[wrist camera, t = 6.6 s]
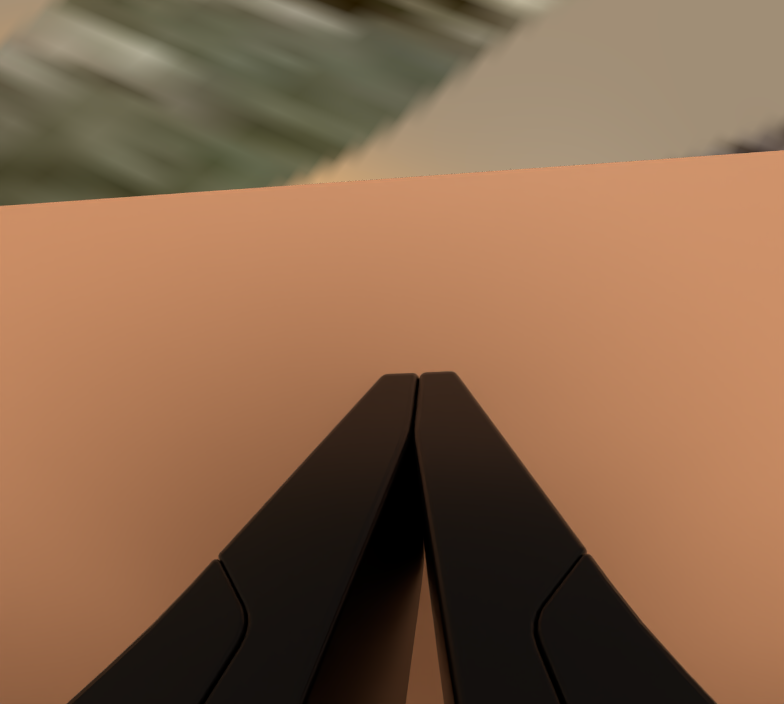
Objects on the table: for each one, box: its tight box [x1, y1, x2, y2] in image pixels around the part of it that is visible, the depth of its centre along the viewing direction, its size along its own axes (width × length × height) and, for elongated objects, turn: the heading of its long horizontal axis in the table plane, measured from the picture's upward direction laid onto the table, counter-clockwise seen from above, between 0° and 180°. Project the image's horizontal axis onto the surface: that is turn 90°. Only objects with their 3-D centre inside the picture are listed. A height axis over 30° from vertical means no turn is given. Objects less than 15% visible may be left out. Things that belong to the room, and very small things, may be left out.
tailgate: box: [0, 150, 784, 704], centre depth 10 cm, size 2×18×9 cm
